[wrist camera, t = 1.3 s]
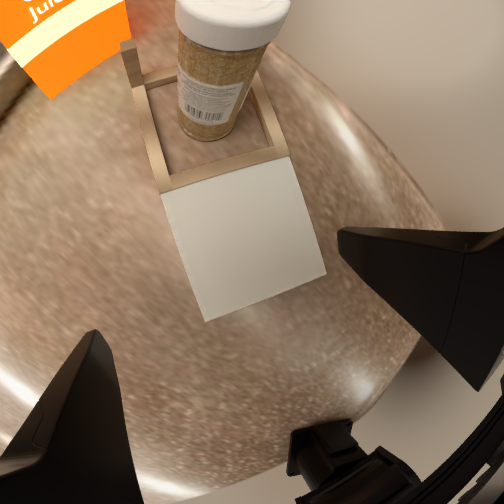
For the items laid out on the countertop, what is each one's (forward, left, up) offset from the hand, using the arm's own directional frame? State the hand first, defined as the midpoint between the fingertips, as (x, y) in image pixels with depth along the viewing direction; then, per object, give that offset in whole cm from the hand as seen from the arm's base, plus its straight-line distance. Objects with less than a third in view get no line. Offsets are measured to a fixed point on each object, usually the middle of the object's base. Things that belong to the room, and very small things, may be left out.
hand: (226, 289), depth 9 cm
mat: (+2, -3, -12) cm, 12 cm away
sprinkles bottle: (+11, 0, -12) cm, 16 cm away
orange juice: (+19, +13, -12) cm, 26 cm away
